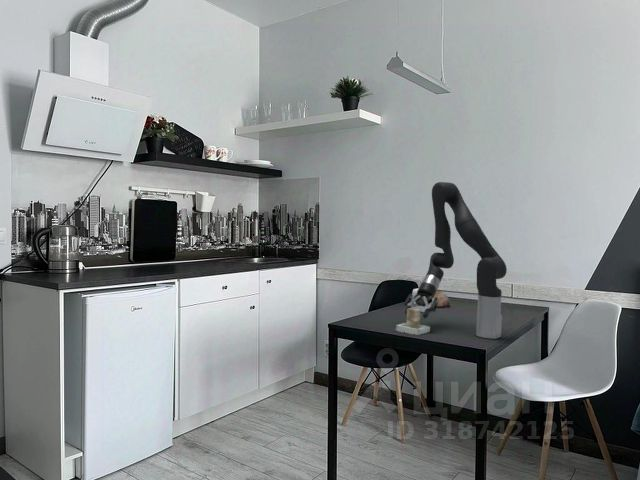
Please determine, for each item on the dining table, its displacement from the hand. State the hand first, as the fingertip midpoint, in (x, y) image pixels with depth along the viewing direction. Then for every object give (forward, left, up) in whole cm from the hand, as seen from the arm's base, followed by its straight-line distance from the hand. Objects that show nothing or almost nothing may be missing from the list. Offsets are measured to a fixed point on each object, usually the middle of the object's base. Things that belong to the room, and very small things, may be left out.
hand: (415, 315), depth 215 cm
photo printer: (+22, -46, -7) cm, 51 cm away
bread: (+27, -71, -7) cm, 77 cm away
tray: (0, +1, -7) cm, 7 cm away
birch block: (0, +1, -6) cm, 6 cm away
